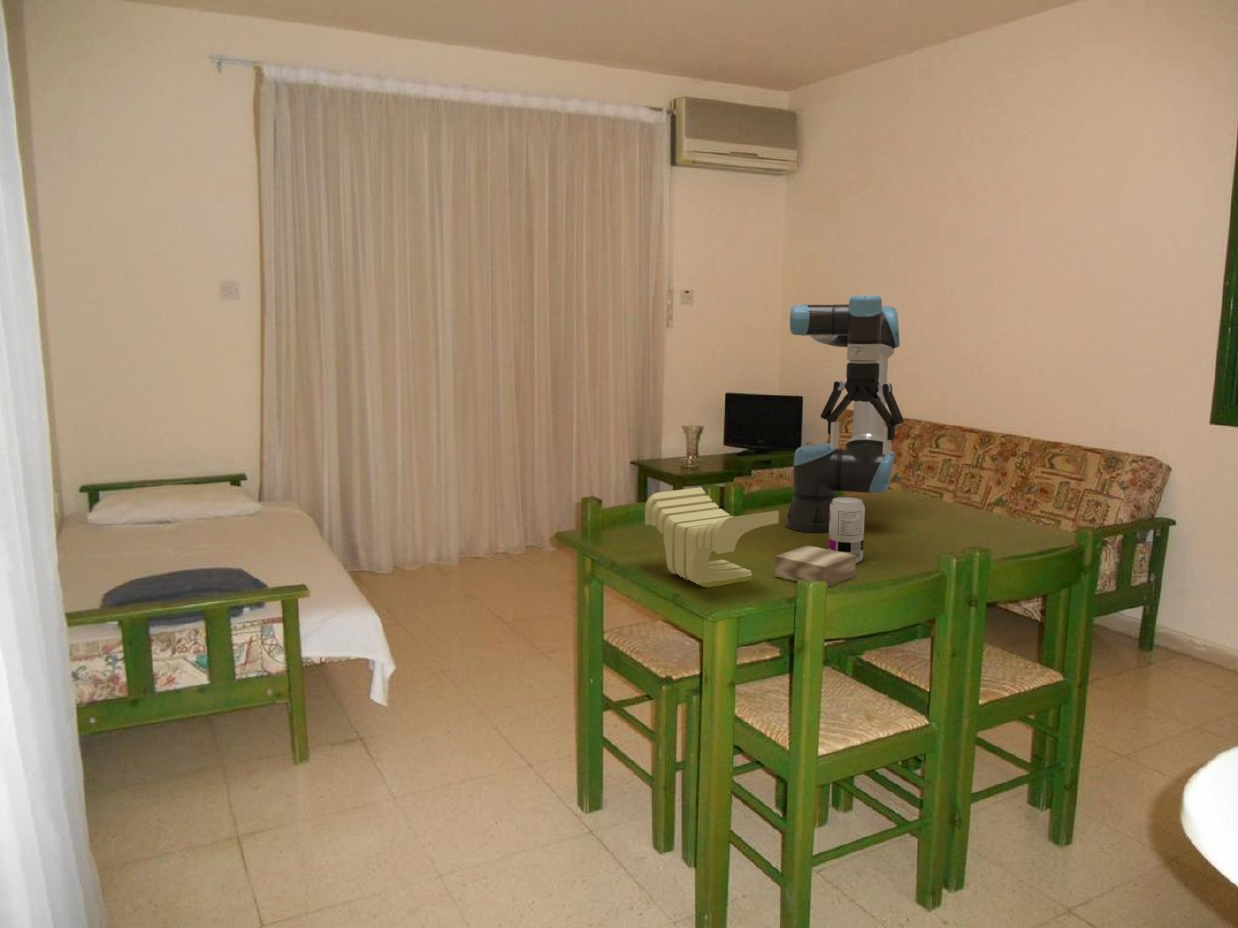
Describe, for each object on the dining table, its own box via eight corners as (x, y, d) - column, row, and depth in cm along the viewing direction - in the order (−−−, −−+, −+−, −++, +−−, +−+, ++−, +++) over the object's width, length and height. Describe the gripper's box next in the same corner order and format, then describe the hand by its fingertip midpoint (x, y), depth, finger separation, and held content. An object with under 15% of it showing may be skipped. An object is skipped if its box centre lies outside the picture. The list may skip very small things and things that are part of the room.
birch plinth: (774, 577, 211) (775, 555, 210) (807, 565, 220) (807, 545, 219) (823, 588, 202) (824, 566, 201) (855, 576, 211) (855, 555, 210)
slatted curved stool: (645, 566, 220) (645, 494, 217) (700, 557, 227) (701, 487, 224) (716, 601, 194) (717, 518, 191) (777, 589, 201) (778, 510, 198)
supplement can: (821, 560, 224) (823, 500, 222) (840, 553, 230) (842, 495, 227) (850, 566, 218) (853, 505, 216) (869, 559, 224) (871, 499, 222)
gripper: (808, 361, 222) (805, 448, 225) (907, 364, 206) (902, 458, 209) (823, 359, 227) (821, 444, 231) (920, 362, 211) (916, 454, 215)
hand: (859, 451), depth 220 cm, fingers open, 13 cm apart
